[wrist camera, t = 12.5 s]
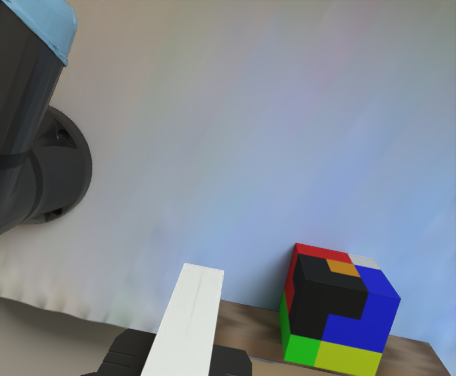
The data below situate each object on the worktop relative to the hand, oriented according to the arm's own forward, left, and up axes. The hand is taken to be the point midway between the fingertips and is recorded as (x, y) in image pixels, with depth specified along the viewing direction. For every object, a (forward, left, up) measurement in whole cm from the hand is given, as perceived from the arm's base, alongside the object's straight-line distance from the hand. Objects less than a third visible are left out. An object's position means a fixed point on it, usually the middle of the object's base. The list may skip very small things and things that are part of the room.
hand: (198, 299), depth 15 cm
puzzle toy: (+15, -15, -35) cm, 40 cm away
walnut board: (+15, -21, -34) cm, 43 cm away
